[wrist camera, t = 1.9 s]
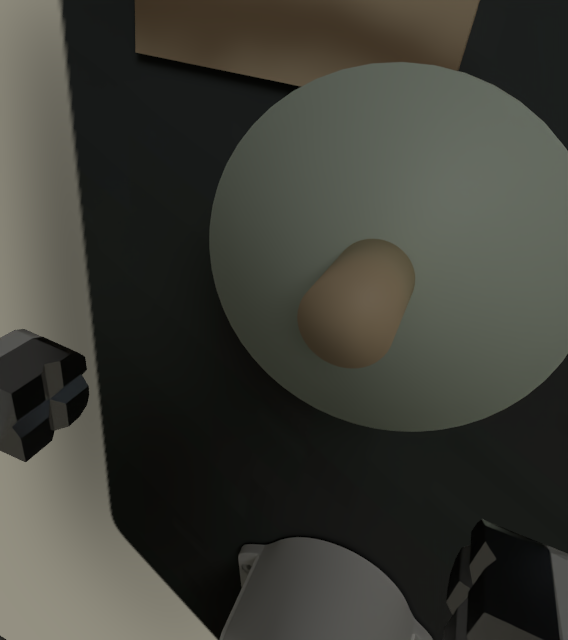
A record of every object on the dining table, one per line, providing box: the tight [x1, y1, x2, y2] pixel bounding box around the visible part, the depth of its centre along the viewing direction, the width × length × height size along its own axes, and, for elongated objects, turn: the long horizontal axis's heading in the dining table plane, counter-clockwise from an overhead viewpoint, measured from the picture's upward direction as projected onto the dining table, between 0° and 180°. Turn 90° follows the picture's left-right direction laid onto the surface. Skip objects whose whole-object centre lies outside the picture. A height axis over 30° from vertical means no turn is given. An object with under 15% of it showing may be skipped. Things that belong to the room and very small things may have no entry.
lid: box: [209, 62, 568, 432], centre depth 16 cm, size 14×14×5 cm
